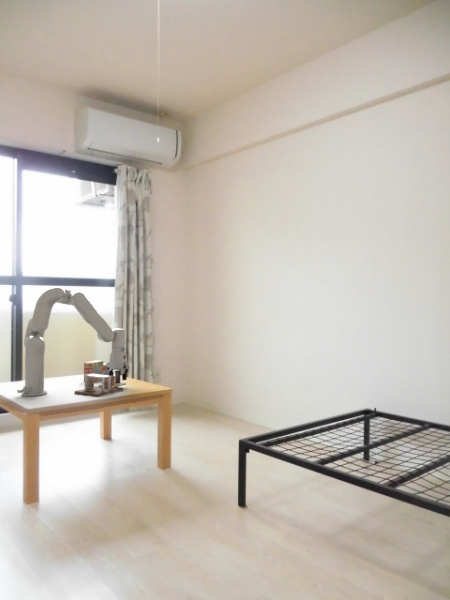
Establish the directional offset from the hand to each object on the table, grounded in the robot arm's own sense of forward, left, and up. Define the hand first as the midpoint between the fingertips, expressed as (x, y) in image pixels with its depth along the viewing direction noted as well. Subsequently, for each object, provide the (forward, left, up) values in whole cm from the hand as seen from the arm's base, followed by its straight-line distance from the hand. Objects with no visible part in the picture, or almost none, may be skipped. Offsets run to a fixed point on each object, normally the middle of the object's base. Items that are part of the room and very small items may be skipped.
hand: (117, 379), depth 276 cm
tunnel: (-17, 0, -3) cm, 17 cm away
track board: (-15, 0, -5) cm, 16 cm away
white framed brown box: (-4, 0, -3) cm, 5 cm away
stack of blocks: (+14, +28, -5) cm, 31 cm away
